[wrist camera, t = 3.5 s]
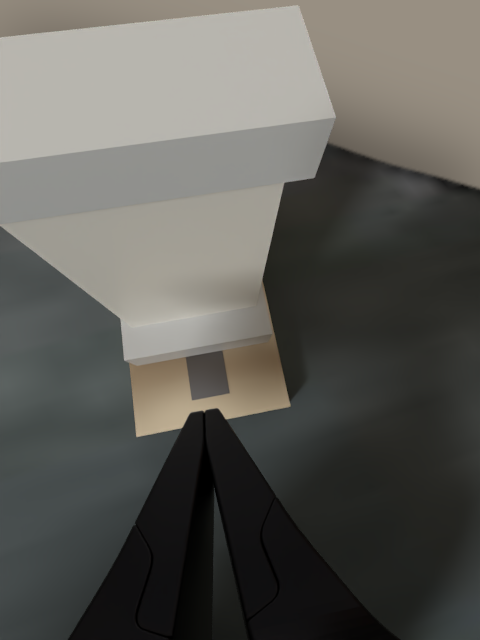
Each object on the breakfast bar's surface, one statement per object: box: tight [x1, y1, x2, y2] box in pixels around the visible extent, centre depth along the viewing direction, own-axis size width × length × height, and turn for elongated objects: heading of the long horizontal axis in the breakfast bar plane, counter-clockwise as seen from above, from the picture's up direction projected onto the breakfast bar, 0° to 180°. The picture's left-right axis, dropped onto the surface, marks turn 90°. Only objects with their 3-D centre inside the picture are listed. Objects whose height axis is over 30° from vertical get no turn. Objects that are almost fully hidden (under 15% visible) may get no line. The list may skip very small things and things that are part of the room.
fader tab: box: [0, 5, 336, 366], centre depth 11 cm, size 5×7×13 cm
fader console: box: [129, 280, 291, 437], centre depth 19 cm, size 18×8×2 cm, turn 11°
